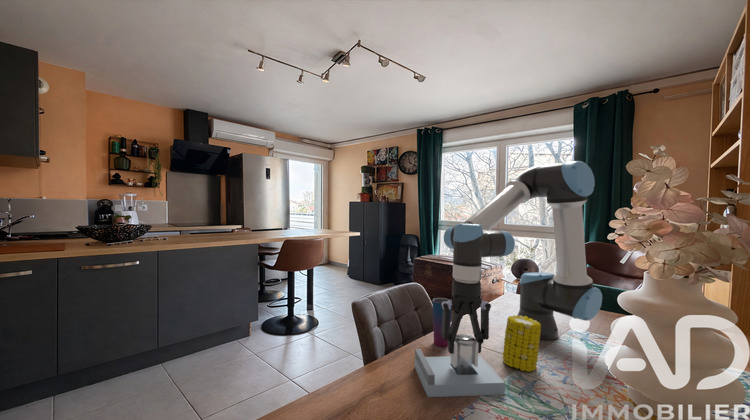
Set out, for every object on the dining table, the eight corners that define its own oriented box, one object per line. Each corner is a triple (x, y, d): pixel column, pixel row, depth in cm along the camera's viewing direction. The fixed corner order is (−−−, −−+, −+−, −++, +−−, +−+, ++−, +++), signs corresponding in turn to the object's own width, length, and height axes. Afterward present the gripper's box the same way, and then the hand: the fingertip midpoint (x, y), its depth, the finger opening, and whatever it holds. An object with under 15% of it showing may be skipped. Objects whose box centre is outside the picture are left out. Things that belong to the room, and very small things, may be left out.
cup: (451, 349, 100) (453, 304, 100) (431, 346, 101) (432, 302, 101) (450, 340, 107) (452, 298, 107) (431, 338, 108) (432, 297, 108)
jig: (479, 365, 90) (480, 347, 90) (504, 394, 76) (505, 373, 76) (414, 367, 88) (415, 348, 88) (427, 397, 74) (428, 375, 74)
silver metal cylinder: (468, 369, 85) (469, 334, 85) (476, 379, 80) (478, 342, 80) (451, 369, 84) (452, 334, 84) (458, 380, 79) (459, 342, 79)
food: (496, 364, 94) (525, 364, 96) (520, 375, 83) (553, 375, 84) (494, 313, 98) (522, 314, 99) (516, 317, 86) (547, 318, 88)
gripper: (491, 277, 87) (489, 357, 87) (430, 276, 85) (427, 358, 85) (505, 283, 79) (502, 371, 79) (438, 283, 77) (435, 372, 77)
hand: (464, 364), depth 82 cm, fingers closed on silver metal cylinder, 5 cm apart
